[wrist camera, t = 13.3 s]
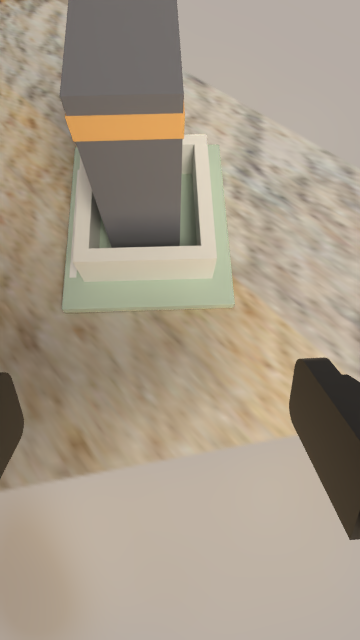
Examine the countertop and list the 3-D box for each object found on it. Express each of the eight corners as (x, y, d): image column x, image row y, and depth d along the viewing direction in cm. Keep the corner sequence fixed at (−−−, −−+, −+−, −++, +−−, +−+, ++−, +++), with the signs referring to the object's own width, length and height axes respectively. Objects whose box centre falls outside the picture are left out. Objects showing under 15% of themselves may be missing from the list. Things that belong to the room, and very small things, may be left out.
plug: (113, 255, 20) (58, 97, 11) (114, 187, 22) (67, -3, 12) (180, 252, 20) (185, 94, 11) (176, 185, 22) (177, -5, 12)
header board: (65, 313, 19) (46, 292, 17) (77, 154, 23) (64, 115, 20) (233, 307, 20) (242, 287, 17) (217, 151, 24) (223, 113, 21)
